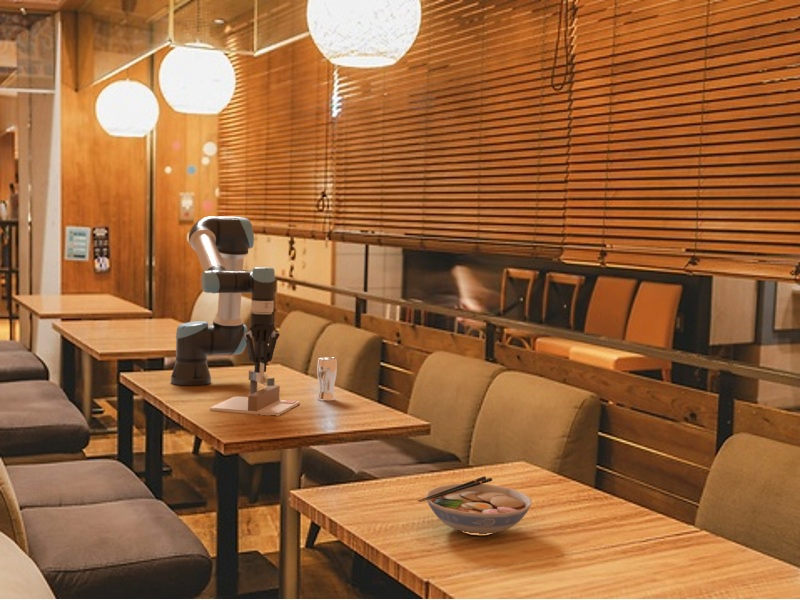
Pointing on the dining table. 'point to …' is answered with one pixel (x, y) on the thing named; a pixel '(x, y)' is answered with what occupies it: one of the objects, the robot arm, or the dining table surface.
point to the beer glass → (326, 377)
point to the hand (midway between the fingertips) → (259, 381)
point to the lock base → (243, 406)
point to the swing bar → (267, 379)
